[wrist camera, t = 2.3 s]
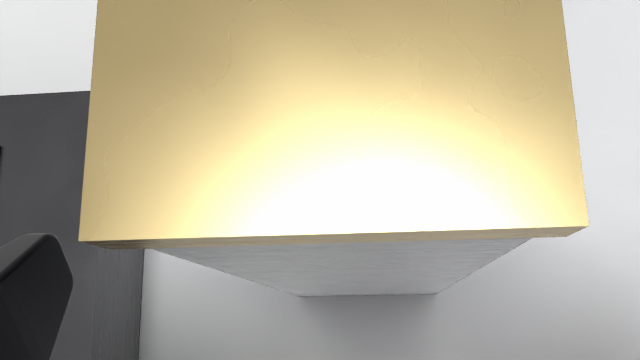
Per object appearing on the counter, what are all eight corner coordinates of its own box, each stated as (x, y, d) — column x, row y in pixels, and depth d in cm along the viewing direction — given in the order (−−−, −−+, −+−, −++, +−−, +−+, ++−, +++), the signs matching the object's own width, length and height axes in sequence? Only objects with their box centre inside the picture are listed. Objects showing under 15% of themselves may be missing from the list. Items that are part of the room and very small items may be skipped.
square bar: (440, 297, 17) (589, 225, 5) (296, 299, 18) (77, 240, 5) (432, 157, 18) (535, -212, 6) (295, 162, 19) (112, -170, 6)
